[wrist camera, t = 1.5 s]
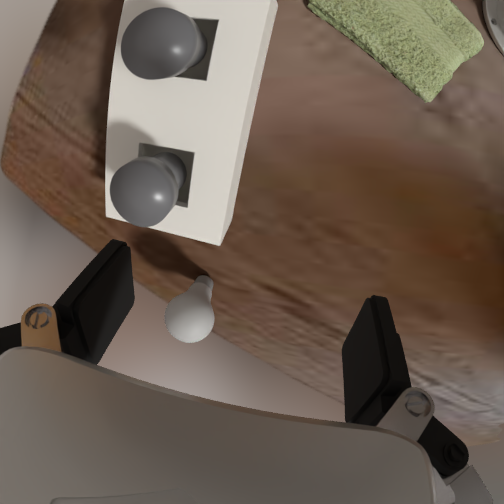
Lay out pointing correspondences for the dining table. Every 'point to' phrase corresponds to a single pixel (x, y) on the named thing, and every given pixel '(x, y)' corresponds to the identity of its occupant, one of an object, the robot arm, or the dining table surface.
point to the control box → (193, 111)
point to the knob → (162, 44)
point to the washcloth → (407, 37)
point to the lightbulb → (191, 312)
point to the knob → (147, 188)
